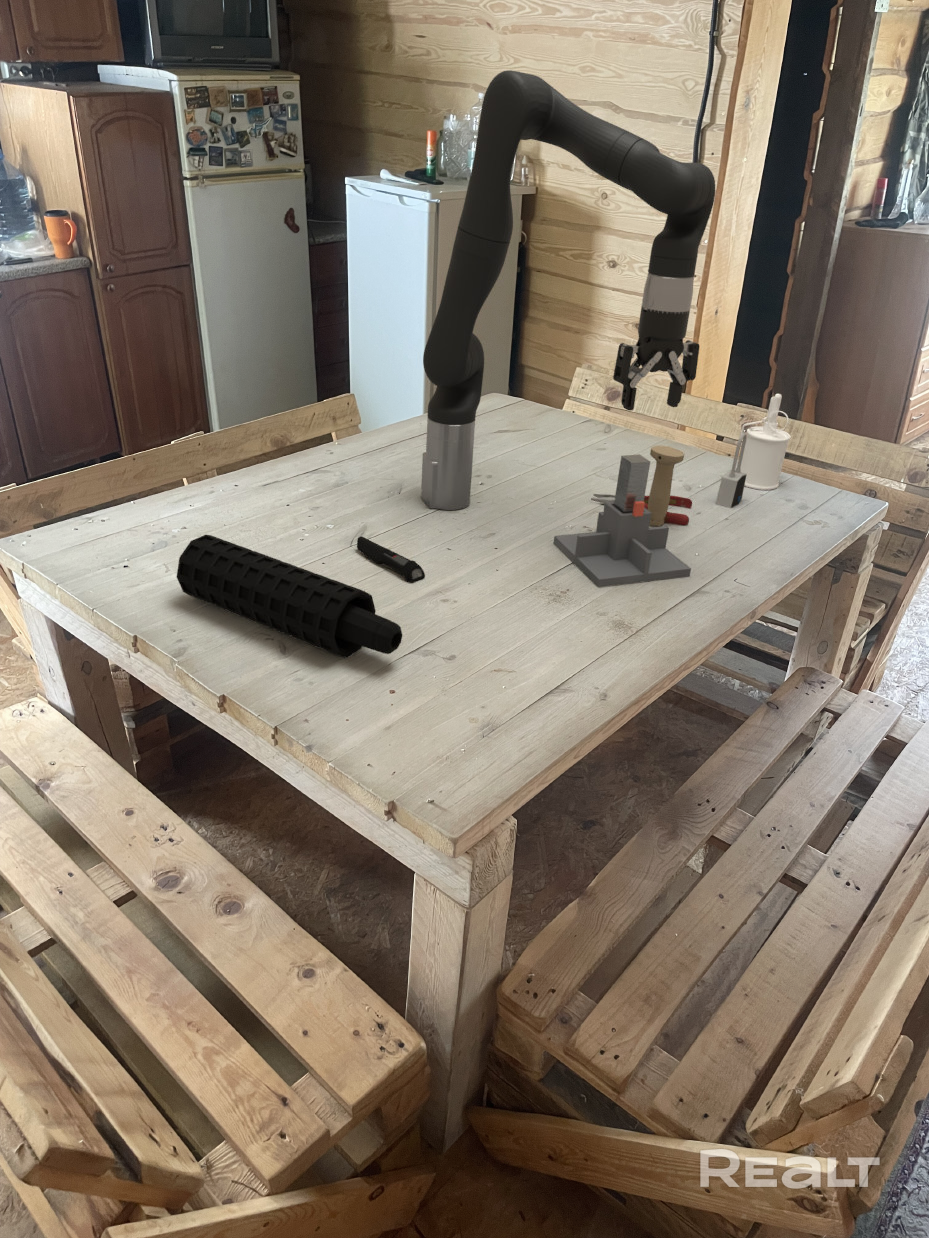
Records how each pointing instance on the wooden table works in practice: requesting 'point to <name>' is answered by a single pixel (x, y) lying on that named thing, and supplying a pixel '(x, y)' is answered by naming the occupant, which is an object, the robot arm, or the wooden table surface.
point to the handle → (662, 481)
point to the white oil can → (765, 450)
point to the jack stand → (623, 549)
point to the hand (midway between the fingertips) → (650, 407)
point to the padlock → (733, 480)
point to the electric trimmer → (391, 560)
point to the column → (631, 482)
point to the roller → (285, 598)
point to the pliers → (670, 517)
